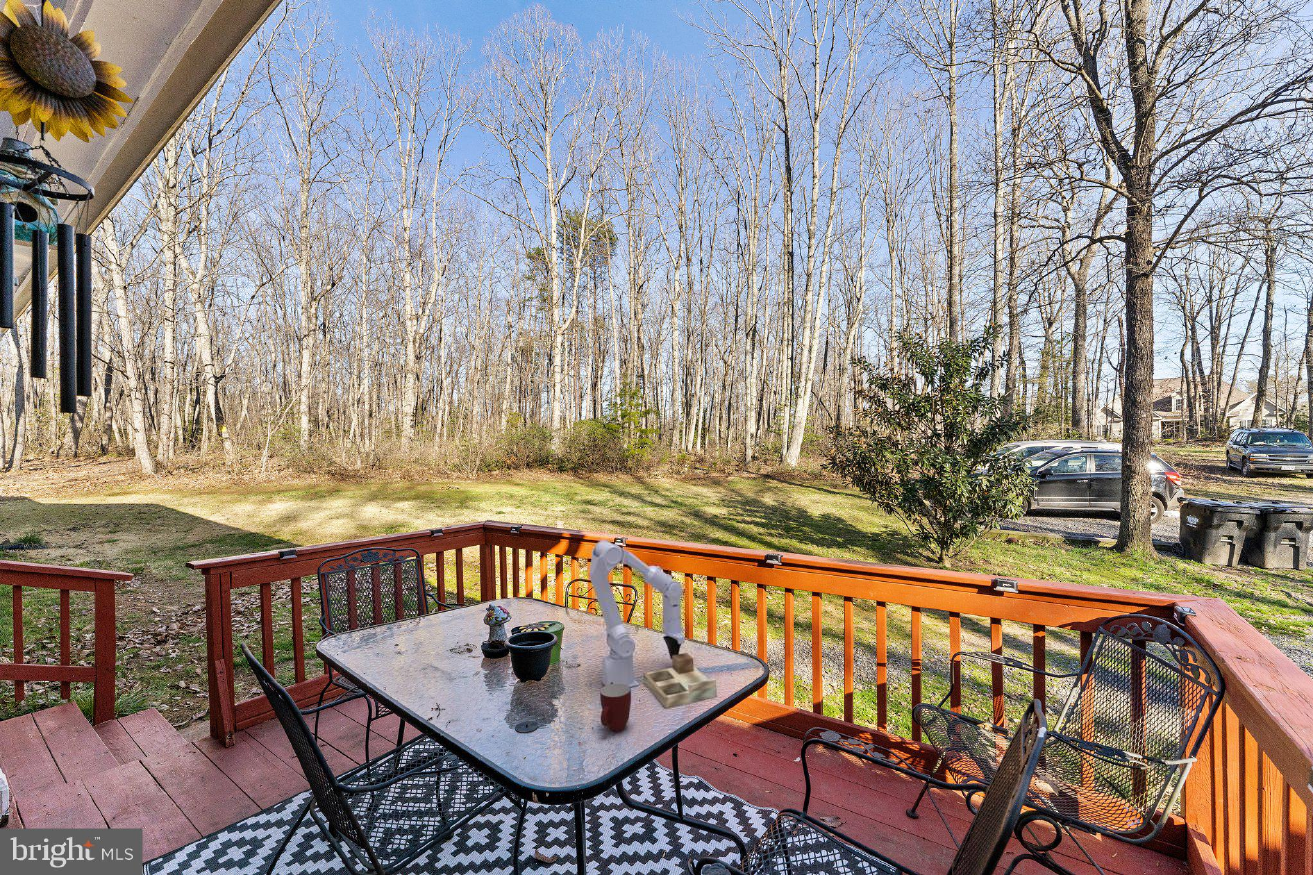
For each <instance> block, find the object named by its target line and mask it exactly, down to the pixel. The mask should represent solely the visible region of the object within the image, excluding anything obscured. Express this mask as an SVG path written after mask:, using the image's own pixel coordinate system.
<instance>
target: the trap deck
mask: <svg viewBox="0 0 1313 875" xmlns="http://www.w3.org/2000/svg"><path fill="white" fill-rule="evenodd" d="M643 684H644V685H645V686H646V688H647V689H648V688H649V689H648V690H649V691H650V692H651V694H652V695H653V696H654V697H655V699H657V701H658V702H659V703H660V704H661V705H662V706H663V708H664V709H665V710H666V709H671V708H674V707H678V706H684V705H687V704H691V703H696V702H700V701H703V700H708V699H713V698H714V699H715V698H718V694H717V693H718V692H717V691H718V690H717V679H716V678H713V679H709V678H708V677H707V676H705V675H704V674H703V673H702V672H701V671H699V669H697V668H696V667H695V666H694V671H693V672H688V673H683V674H678V673H677V672H676V671H675V670H674V669H673V667H670V668H664V669H659V670H655V671H651V672H645V673H643Z"/></svg>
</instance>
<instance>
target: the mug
mask: <svg viewBox="0 0 1313 875" xmlns="http://www.w3.org/2000/svg"><path fill="white" fill-rule="evenodd" d="M631 688H632V687H629V686H628V685H626V684H621V683H615V684H609V685H606V686H605V685H604V686H603V687H602V688H601V689H600V690H599V692H600V693H599V694H600V698H599V700H600V706H601V714H600V723H601V725H602V726H603V727H606V728H607V727H608V729H609V730H610V731H612V732H621V731H623V730H624V729H625V728H626V725H627V724H628V722H629V719H630V714H631V713H630V712H631V704H632V689H631Z"/></svg>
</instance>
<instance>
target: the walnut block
mask: <svg viewBox="0 0 1313 875" xmlns="http://www.w3.org/2000/svg"><path fill="white" fill-rule="evenodd" d="M671 663H672V668H673V669H674V670H675V671H676V672H677V673H678V674H683V673H688V672H693V671H694V667H695V666H694V658H693V657H692V656H691V655H690V654H689V653H688V652H685V653H679V654H678V655H673V656H672V659H671Z"/></svg>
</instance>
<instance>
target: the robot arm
mask: <svg viewBox="0 0 1313 875" xmlns="http://www.w3.org/2000/svg"><path fill="white" fill-rule="evenodd" d="M590 554H591V560H590V566H589V572H588V575H589V579H590V581H591V586H592V587H593V590H594V594H595V597H596V600H597V602H598V606H599V608H600V612H601V615H602V617H603V620H604V623H605V626H606V628H605V632H606V644H607V646H608V648H610V649H609V655H607V656H605V657H602V660H601V668H602V669H601V670H602V681H601V682H602V683H603V685H604V686H606V685H609V684H615V683H621V684H626V685H628V686H629V687H630V688H632V687H637V686H639V682H638V681H637V679H636V678H635V670H634V652H635V650H636V642H635V640H634V638H632V637H631V636H630V633H629V631H628V630H627V627H626V626H625V624H624V622H623V618H622V617H621V614H620V610H619V608H618V605H617V602H616V599H615V595H614V594H613V590H612V588H611V584H610V582H609V579H608V577H609V575H610V573H611V571H612V570H613V569H614V568H616V566H618V565H619V564H620V565H625V564H626V565H628V566H629V567H630V568H632V569H634V570H635V571H637V572H638V573H640V574H642V577H643V581H644V582H645V583H647V584H648V585H650V586H651V587H652V588H653V589H655V590H656V591H657V592H659V593H660V594H661V595H662V597H661V598H662V615H663V623H661V630H662V631H663V635H664V636H663V637H662V639H663V640H664V642H665V645H666V648H667V649H668V654H669V658H670V660H672V656H673V655H678V654H680V649H681V646H682V644H685V638H686V637H685V636H684V633H683V632H686V628H684V627H682V609H681V598H682V596H683V593H684V588H683V587H682V584H681V582H679V581H676V580H675V579H672V578H673V577H672V575H670V574H667V573H666V572H664V571H663V570H662V567H660V566H659V565H657V566H656V565H650V566H648V565H647V564H646V563H645V562H643V561H642V560H640V559H639V558H638V557H637V556H636V555H634V554H633V553H632V552H630V551H629V550H626V549H625V548H622V547H620V546H619V545H617V544H614V543H612V542H610V541H608V540H600V541H598V542H597V543H596V544H595V545H594V547H593V549H592V550H591V553H590Z"/></svg>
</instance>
